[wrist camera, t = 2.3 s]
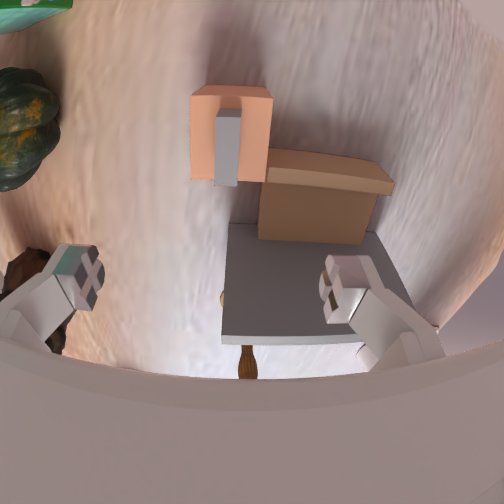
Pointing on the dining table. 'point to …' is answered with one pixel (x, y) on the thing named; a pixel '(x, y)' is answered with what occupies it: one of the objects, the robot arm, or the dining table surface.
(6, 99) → the squash
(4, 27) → the milk carton
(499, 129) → the dining table surface
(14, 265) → the owl
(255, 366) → the hand bell
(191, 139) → the tall peach box
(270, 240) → the board
